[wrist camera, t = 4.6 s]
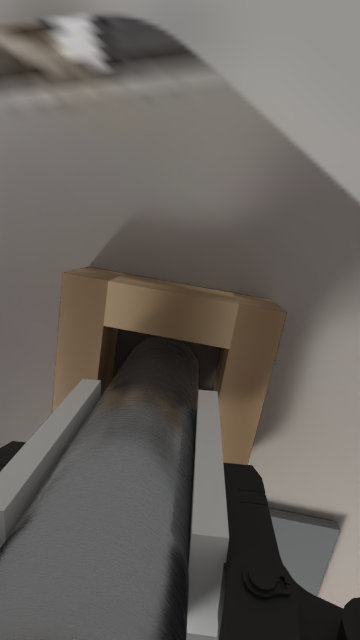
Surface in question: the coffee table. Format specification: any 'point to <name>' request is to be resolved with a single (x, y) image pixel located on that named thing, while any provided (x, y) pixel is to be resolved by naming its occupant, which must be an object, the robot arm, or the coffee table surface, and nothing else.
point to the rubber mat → (300, 550)
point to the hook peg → (113, 514)
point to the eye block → (177, 323)
